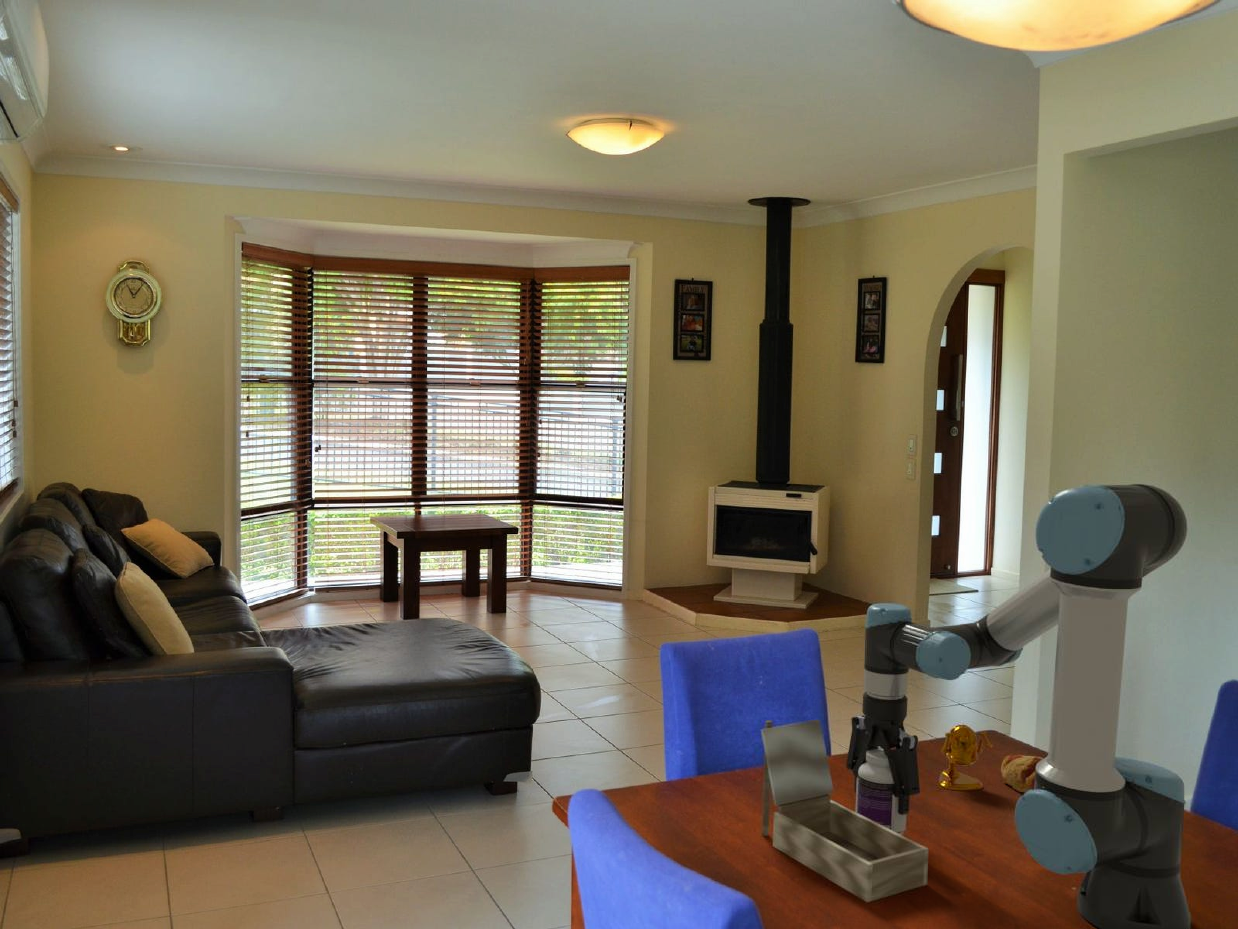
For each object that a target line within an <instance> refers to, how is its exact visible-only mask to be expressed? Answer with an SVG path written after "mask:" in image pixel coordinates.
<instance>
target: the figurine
mask: <svg viewBox="0 0 1238 929" xmlns="http://www.w3.org/2000/svg"><path fill="white" fill-rule="evenodd" d="M944 735H945V737H946V738H945V740H944V744H943V746H942V748H940V752H941V754H942V755H945V756H946V758H947V760H948V768H947V769H945V770H942V771H941V772H940V775H939V777H938V778H939V779H938V785H939V786H940V787H941V788H943V789H945V790H951V791H959V792H960V791H961V792H962V791H966V792H968V791H977V790H978V791H979V790H982V789H983V787H984V786H983V785H984V784H983V783H982V782H981V781H980V780H979V779H978V778H976V777H972V776H970V775H968V774H965V773H962V772H959V771H958V770H957V767H956V766H963V767H965V766H967V767H968V766H971V765H973V764H974V763H975V762H976V761H978V758H979V756H978V754H982V753H983V744H984V740H985V742H986V748H990V749H992V748H994V745H993V744H992V743H991V742H990V740H989V738H988V737H987V735H988V733H987V731H980V732H979V735H980V739H979V741H978V737H977V734H976V732H975V731H974V730H973V729H972V728H971V727H970V726H968V725H966V724H957V725H955V726H954V727H953V728H951V730H950V731H949V732H945V734H944Z"/></svg>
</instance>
